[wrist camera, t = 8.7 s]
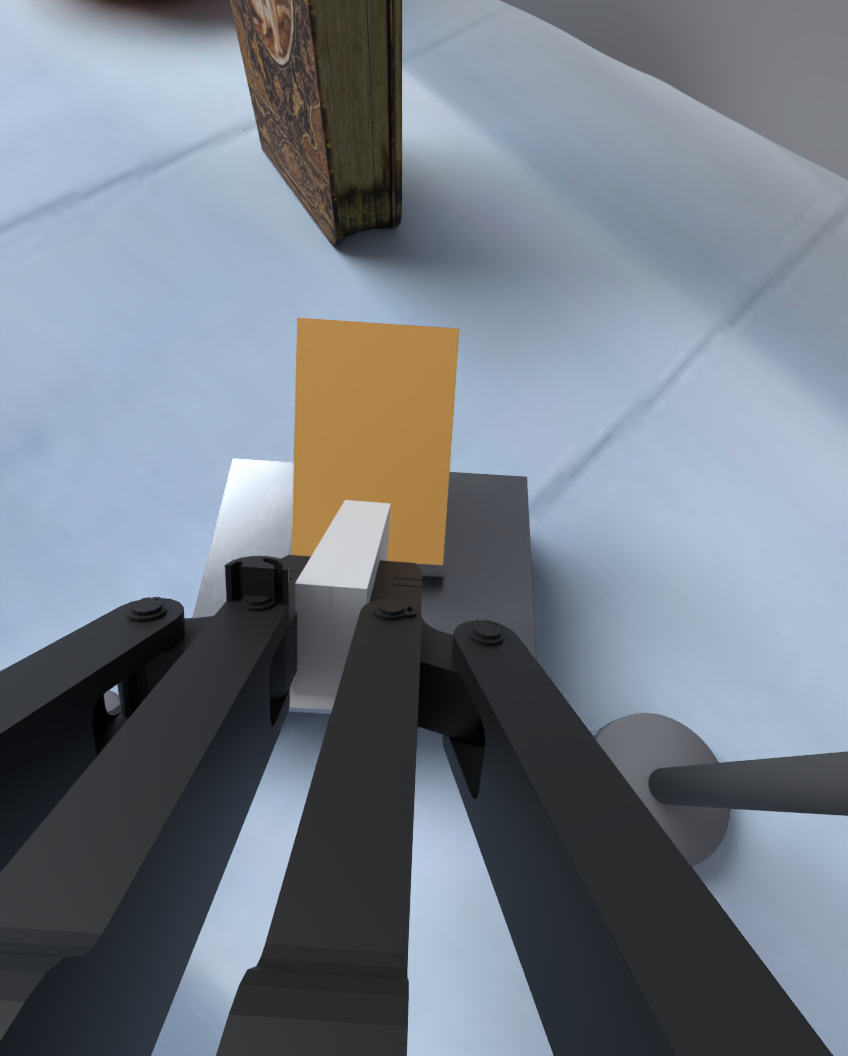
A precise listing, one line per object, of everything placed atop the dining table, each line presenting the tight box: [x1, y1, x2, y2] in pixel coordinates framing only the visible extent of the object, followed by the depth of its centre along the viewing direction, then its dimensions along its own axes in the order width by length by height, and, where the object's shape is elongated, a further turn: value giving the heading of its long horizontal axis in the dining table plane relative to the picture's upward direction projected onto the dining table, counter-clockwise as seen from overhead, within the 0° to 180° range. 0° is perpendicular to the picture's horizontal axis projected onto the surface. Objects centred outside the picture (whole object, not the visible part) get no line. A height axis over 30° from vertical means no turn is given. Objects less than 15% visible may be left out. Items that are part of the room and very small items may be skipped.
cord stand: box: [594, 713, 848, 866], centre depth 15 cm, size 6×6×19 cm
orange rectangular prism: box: [288, 318, 459, 577], centre depth 21 cm, size 2×6×10 cm
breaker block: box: [193, 459, 536, 714], centre depth 24 cm, size 11×14×5 cm
